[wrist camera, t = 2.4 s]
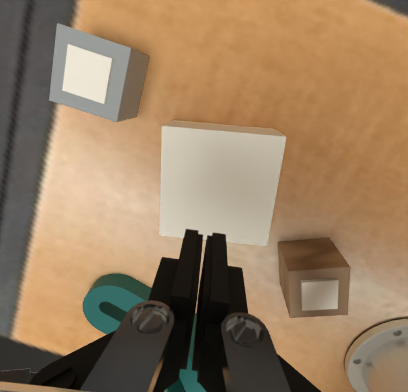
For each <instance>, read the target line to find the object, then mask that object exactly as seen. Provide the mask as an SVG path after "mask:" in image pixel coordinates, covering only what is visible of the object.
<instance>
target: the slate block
mask: <svg viewBox="0 0 408 392" xmlns="http://www.w3.org/2000/svg"><path fill="white" fill-rule="evenodd" d="M148 61H149V56H147V55H145V54H142V53H140V52H138V51H136V50H134V49H132V48H130V47H127V46H124V45H121V44H118V43H115V42H112V41H109V40H106V39H103V38H100V37H97V36H94V35H91V34H88V33H85V32H82V31H79V30H76V29H73V28H70V27H67V26H64V25H61V24H58V23H57V30H56V40H55V49H54V59H53V68H52V78H51V88H50V97H49V100H50V101H53V102H56V103H59V104H62V105H65V106H68V107H72V108H75V109H78V110H81V111H84V112H87V113H90V114H93V115H96V116H99V117H102V118H105V119H109V120H112V121H115V122H119V121H123V120H126V119H130V118H134V117H137V112H138V108H139V103H140V98H141V94H142V89H143V85H144V80H145V75H146V71H147V66H148Z"/></svg>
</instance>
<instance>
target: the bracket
mask: <svg viewBox="0 0 408 392" xmlns="http://www.w3.org/2000/svg"><path fill="white" fill-rule="evenodd" d="M151 289H152V288H150V287H148V286H146V285H145V284H143V283H141V282H139V281H138V280H136V279H134V278H132V277H130V276H127V275H124V274H108V275H105V276H102V277H101V278H99V279H98V280H97V281H96V282H95V283H94V285H93V286H92V288H91V289H90V291H89V292H88V293H87V295H86V297H85V298H84V301H83V312H84V314H85V317H86V318H87V320H88V321H89V322H90V324H91V325H93V326H94V327H95V328H96V329H98V330H100V331H102V332H103V333H105V334H109V333H111V332H113V331H115V330H117V328H118V327H119V325H120V324H121V322H122V320H123V319H124V317H125V315H126V314H127V312H128V311H129V310H130V309H131V308H132V307H133V306H134V305H136V304H138V303H140V302H143V301H148V299H149V295H150V292H151ZM196 316H197V314H195V316H194V323H193V329H192V336H191V343H190V349H189V356H188V363H187V369H186V370H185V369H180V373H179V380H178V381H176V382H175V383H174V384H172V385H171V386H170V387H168V388H167V389H166V392H186V391H187V392H206V391H205V389H204V388H203V387H202V386H201V385H200V383H197V372H198V371H192V359H193V349H194V338H195V327H196ZM184 388H185V389H186V390H185V389H184Z"/></svg>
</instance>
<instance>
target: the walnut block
mask: <svg viewBox="0 0 408 392" xmlns="http://www.w3.org/2000/svg"><path fill="white" fill-rule="evenodd" d="M278 254H279V274H280V285H281V288H282V292H283V295H284V299H285V302H286V306H287V309H288V312H289V316H290V318H295V317H314V316H333V315H348V300H349V280H350V266H349V265H348V263H347V262H346V260H345V259H344V258H343V256H342V255H341V254H340V252H339V251H338V249H337V248H336V247H335V245H334V244H333V242H332V241H331V240H330V238H321V239H309V240H297V241H285V242H278Z"/></svg>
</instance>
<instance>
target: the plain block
mask: <svg viewBox="0 0 408 392" xmlns="http://www.w3.org/2000/svg"><path fill="white" fill-rule="evenodd" d="M285 143H286V136H285V135H283V134H282V133H281V132H279V131H278V130H276V129H273V128H262V127H250V126H239V125H227V124H215V123H204V122H192V121H181V120H172V121H170V122H168V123H166V124H164V125H163V126H162V142H161V185H160V228H159V236H169V237H179V238H184V234H185V230H186V229H191V230H199V231H198V234H203V240H207V235H210V236H212V234H213V232H214V233H221V234H226V242H229V243H239V244H248V245H258V246H267V243H268V238H269V232H270V227H271V221H272V216H273V210H274V204H275V199H276V193H277V188H278V182H279V176H280V171H281V165H282V160H283V154H284V148H285Z"/></svg>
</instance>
